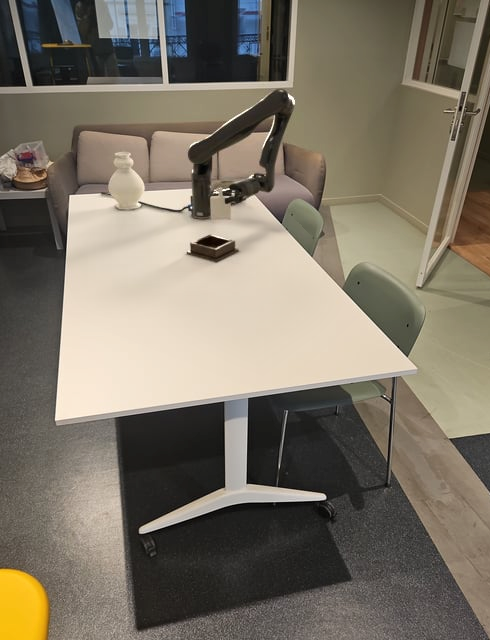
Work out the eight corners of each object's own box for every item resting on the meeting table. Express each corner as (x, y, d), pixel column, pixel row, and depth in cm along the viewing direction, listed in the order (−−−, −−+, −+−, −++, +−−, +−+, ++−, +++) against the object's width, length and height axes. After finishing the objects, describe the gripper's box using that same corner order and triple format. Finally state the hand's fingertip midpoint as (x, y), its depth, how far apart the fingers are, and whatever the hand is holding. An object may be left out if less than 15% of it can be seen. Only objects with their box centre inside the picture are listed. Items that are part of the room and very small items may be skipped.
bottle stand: (186, 254, 203) (186, 243, 200) (209, 243, 213) (209, 233, 210) (216, 262, 196) (216, 251, 193) (238, 251, 206) (238, 240, 203)
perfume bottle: (210, 219, 202) (209, 188, 195) (211, 218, 203) (210, 187, 197) (230, 219, 202) (230, 188, 195) (230, 218, 204) (230, 187, 197)
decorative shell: (216, 207, 257) (215, 187, 251) (205, 198, 271) (204, 179, 265) (248, 204, 263) (248, 184, 257) (236, 195, 276) (236, 176, 270)
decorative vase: (129, 199, 267) (123, 148, 253) (153, 205, 259) (148, 152, 245) (103, 207, 256) (95, 154, 241) (128, 213, 247) (121, 158, 233)
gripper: (226, 178, 209) (202, 187, 198) (255, 183, 202) (232, 192, 191) (227, 197, 213) (203, 206, 202) (255, 202, 207) (232, 212, 196)
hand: (217, 199), depth 197 cm, fingers closed on perfume bottle, 7 cm apart
